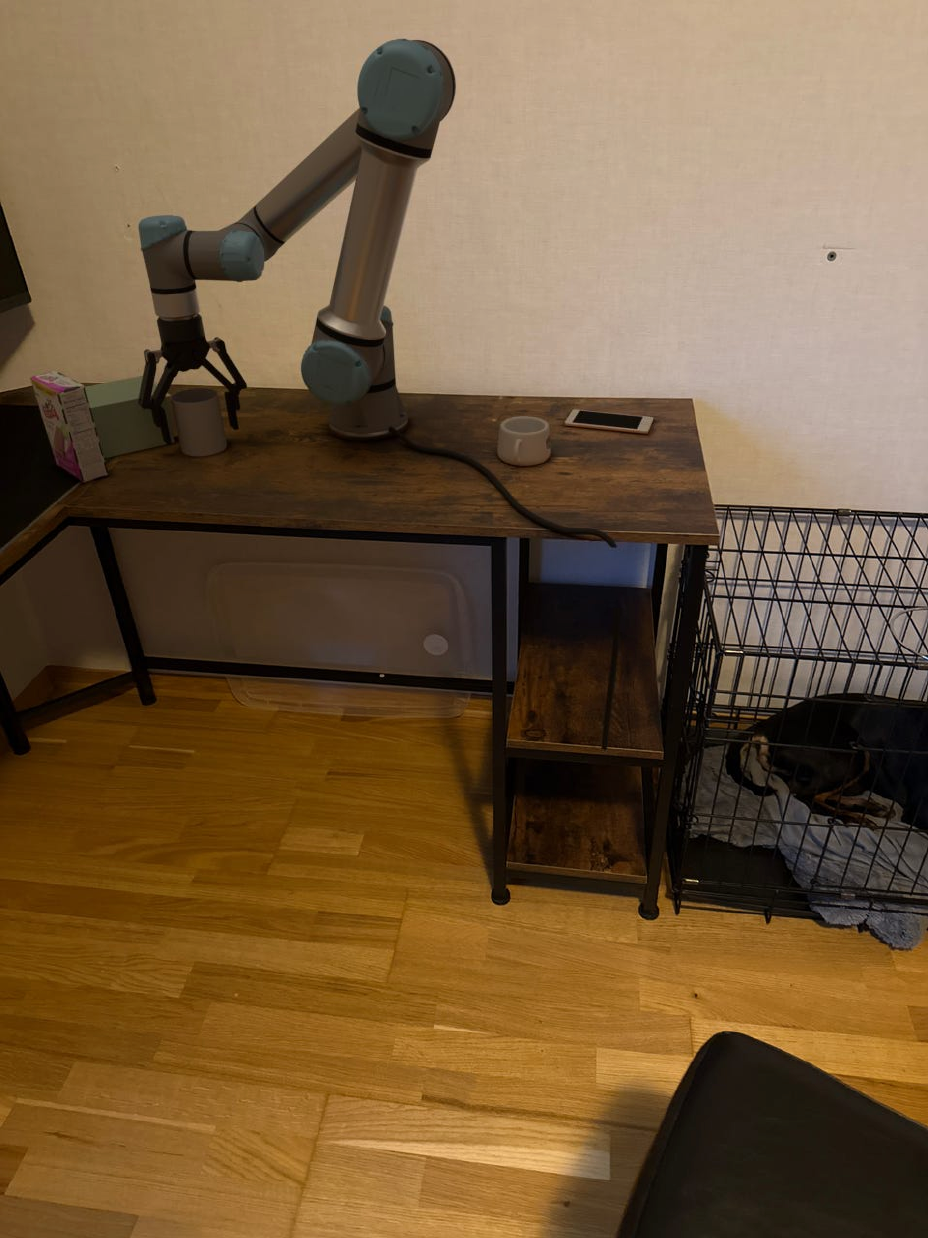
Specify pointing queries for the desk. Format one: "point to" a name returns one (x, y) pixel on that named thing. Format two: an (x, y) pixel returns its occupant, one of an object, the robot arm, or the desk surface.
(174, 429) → the drawer
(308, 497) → the desk surface
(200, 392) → the cup
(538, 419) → the mug
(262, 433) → the desk surface
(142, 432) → the cabinet
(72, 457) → the candy bar box
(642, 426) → the cell phone
